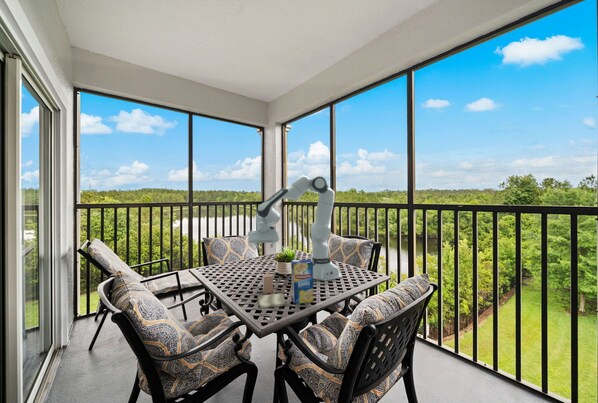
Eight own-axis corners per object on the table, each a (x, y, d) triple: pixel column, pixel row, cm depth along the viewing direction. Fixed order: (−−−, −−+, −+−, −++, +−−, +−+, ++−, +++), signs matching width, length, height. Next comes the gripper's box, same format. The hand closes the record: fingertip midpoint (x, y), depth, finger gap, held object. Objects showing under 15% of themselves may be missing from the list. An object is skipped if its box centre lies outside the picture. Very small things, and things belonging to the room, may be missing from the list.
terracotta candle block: (271, 289, 161) (271, 273, 161) (273, 292, 156) (272, 276, 155) (263, 290, 160) (262, 274, 159) (264, 293, 154) (263, 277, 154)
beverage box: (291, 298, 147) (291, 260, 146) (310, 296, 149) (309, 259, 148) (294, 303, 140) (293, 264, 139) (313, 301, 142) (313, 262, 142)
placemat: (281, 295, 152) (281, 293, 152) (286, 305, 138) (286, 303, 138) (257, 297, 148) (257, 295, 148) (260, 308, 135) (260, 306, 135)
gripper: (247, 228, 173) (248, 245, 164) (277, 227, 178) (280, 244, 169) (247, 233, 177) (248, 251, 168) (276, 232, 182) (279, 249, 173)
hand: (264, 247), depth 168 cm, fingers open, 8 cm apart
